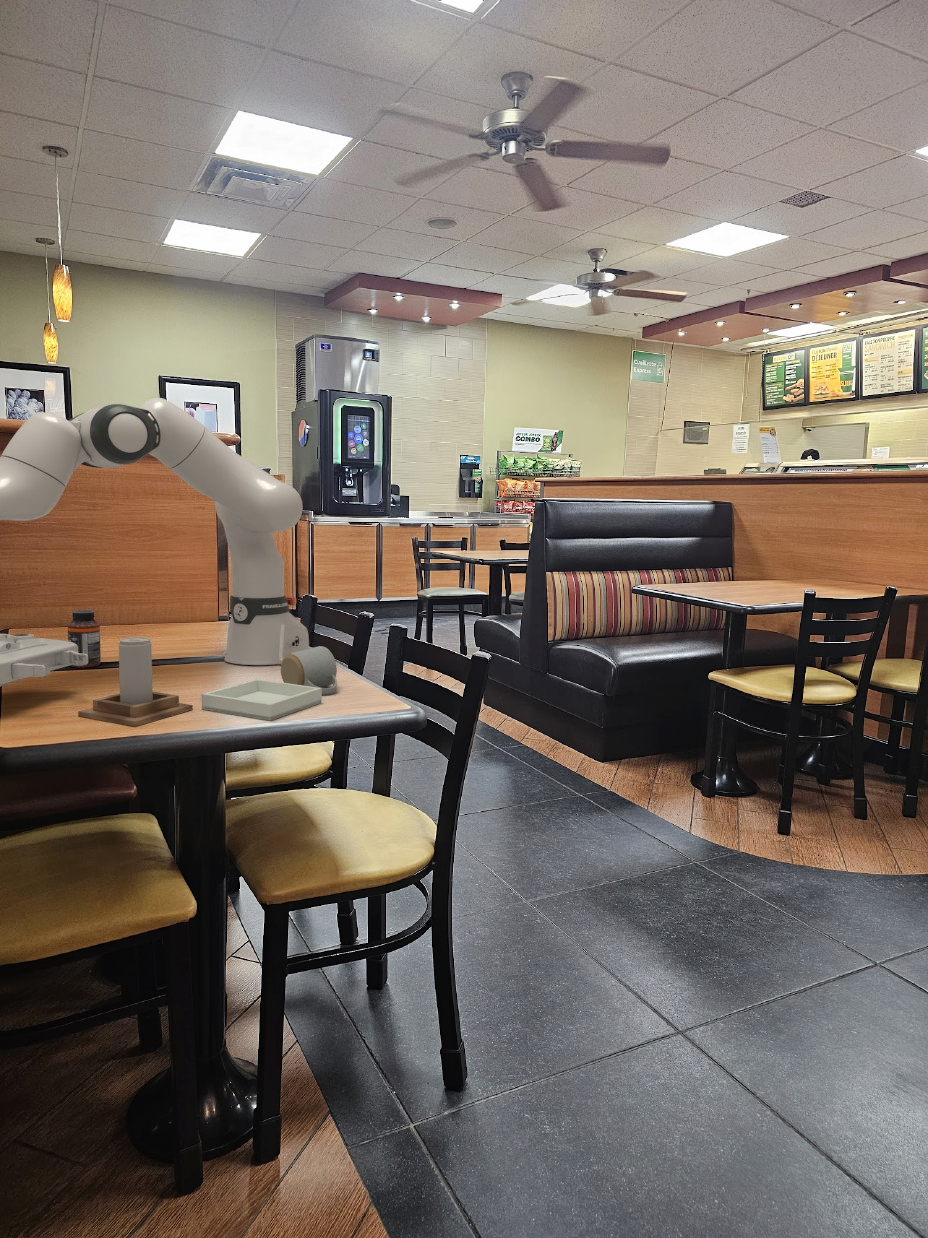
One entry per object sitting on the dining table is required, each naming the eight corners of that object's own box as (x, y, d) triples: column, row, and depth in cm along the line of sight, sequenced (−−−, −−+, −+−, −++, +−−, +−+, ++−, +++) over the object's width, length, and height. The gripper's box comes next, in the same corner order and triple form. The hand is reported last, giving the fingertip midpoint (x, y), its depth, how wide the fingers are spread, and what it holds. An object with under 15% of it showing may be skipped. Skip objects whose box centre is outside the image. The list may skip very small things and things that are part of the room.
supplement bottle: (62, 665, 161) (60, 610, 160) (90, 661, 166) (89, 608, 165) (78, 669, 158) (76, 613, 156) (106, 665, 163) (105, 611, 161)
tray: (257, 693, 143) (257, 679, 142) (321, 702, 137) (321, 688, 137) (201, 709, 130) (201, 694, 130) (270, 721, 124) (270, 704, 124)
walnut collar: (138, 700, 134) (138, 686, 134) (192, 709, 130) (192, 695, 129) (78, 716, 124) (77, 700, 123) (134, 726, 119) (134, 710, 118)
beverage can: (141, 718, 124) (139, 642, 122) (113, 715, 125) (111, 640, 123) (159, 710, 128) (157, 638, 127) (132, 708, 129) (130, 636, 128)
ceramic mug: (277, 688, 147) (277, 648, 146) (312, 682, 153) (313, 643, 152) (313, 699, 140) (313, 657, 139) (348, 692, 146) (349, 651, 145)
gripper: (-62, 651, 119) (20, 657, 117) (33, 632, 139) (104, 636, 137) (-60, 692, 120) (21, 698, 118) (34, 667, 140) (105, 672, 138)
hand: (67, 665), depth 128 cm, fingers open, 8 cm apart
